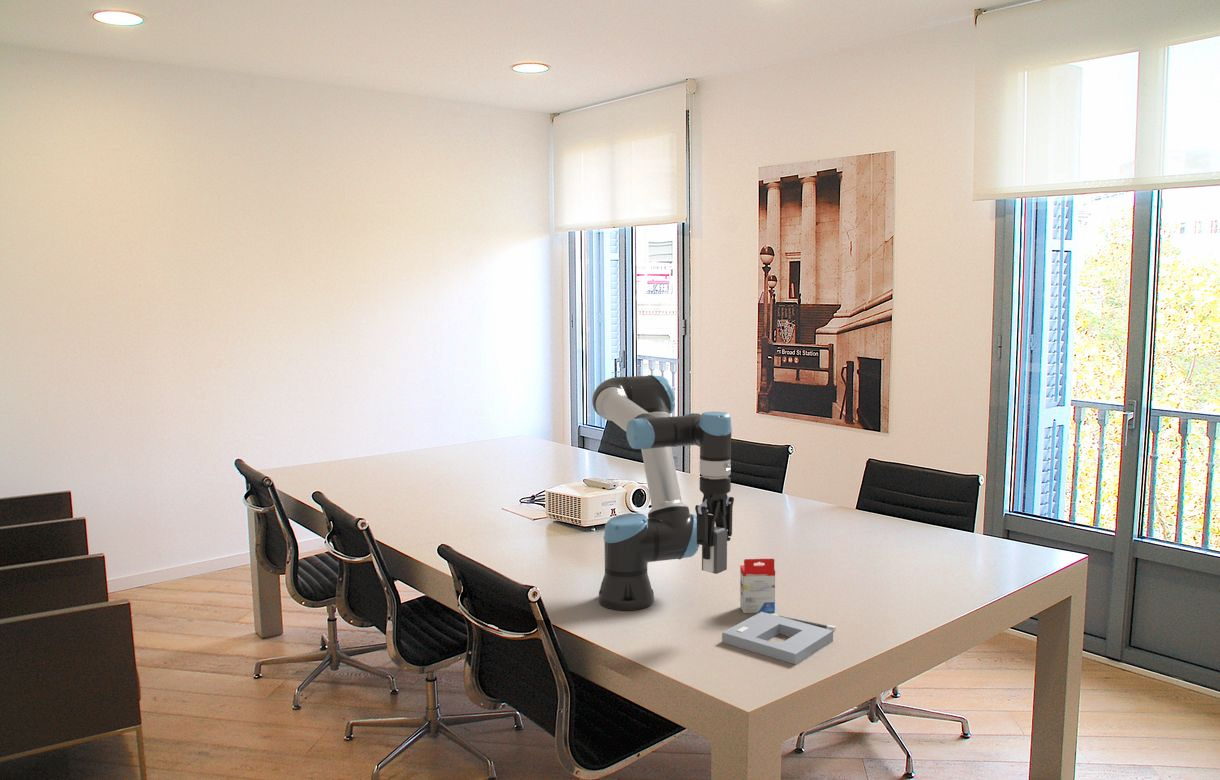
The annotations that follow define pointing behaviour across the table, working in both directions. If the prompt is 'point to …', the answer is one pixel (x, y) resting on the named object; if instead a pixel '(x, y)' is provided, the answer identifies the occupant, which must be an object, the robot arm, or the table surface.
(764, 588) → the ink box
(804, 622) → the cable
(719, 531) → the charger plug
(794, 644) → the plate
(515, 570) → the table surface
